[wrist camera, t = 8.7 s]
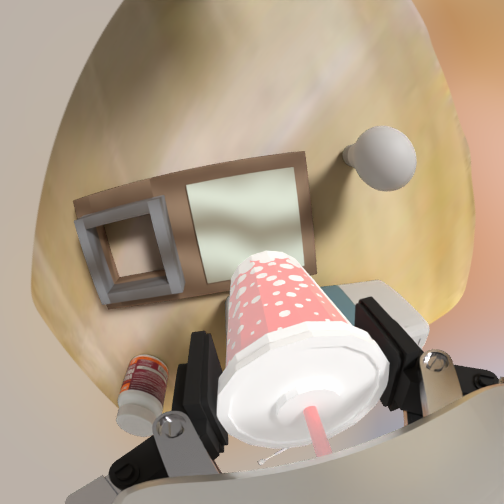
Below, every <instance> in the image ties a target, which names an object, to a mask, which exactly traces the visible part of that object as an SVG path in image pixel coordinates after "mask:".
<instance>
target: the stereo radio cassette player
mask: <svg viewBox="0 0 504 504" xmlns="http://www.w3.org/2000/svg"><path fill="white" fill-rule="evenodd" d="M320 288H321V289H322V290H323V291H324V293H325V294H326V295H327V296H328V297H329V298H330V300H331V301H332V302H333V303H334V304H335V305H336V307H337V308H338V309H339V310H340V311H341V313H342V314H343V315H344V316H345V317H346V319H347V320H348V321H349V322H350V323H351V324H352V326H354V323H355V305H356V303H358V302H359V300H360V299H362V298H366V297H370V296H372V297H373V298H374V299H375V300H376V301H377V302H378V303H379V304H380V306H381V307H382V308H383V309H384V310H385V311H386V312H387V313H388V314H389V315H390V316H391V317H392V319H394V320H395V321H397V322H398V323H399V325H400V326H401V327H402V328H403V329H404V330H405V331H406V332H407V333H408V335H409V336H410V337H411V338H412V339H413V340H414V341H415V343H416V344H417V345H418V346H419V347H420V348H421V349H422V347H423V346H424V344H425V342H426V339H427V336H428V333H429V325H428V323H427V322H426V321H425V319H424V318H423V317H422V316H421V315H420V314H419V313H418V312H417V311H416V310H415V309H414V308H413V307H412V306H411V305H410V304H409V303H408V302H407V301H406V300H405V299H404V298H403V297H402V296H401V295H400V294H399V293H397V292H396V291H395V290H394V289H392V288H391V287H390V286H388V285H387V284H385V283H384V282H383V281H381V280H373V281H366V282H358V283H350V284H342V285H333V286H324V287H320ZM229 300H230V296H228V297H227V300H226V302H225V319H226V348H227V333H228V316H229ZM286 449H289V448H283V449H281V450H279V451H278V452H276V453H274V454H273V455H272V456H270V457H268V458H266V459H264V460H263V459H261V460H259V461H257V462H258V464H259V465H262V464H264V463H265V462H264V461H266V460H268V459H270V458H271V457H273V456H275V455H277V454H279V453H281V452H282V451H284V450H286Z"/></svg>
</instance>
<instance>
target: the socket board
mask: <svg viewBox="0 0 504 504" xmlns="http://www.w3.org/2000/svg"><path fill="white" fill-rule="evenodd" d="M73 203H74V207H75V211H76V215H77V220H75V221H74V223H75V227H76V231H77V234H78V237H79V241H80V244H81V247H82V250H83V254H84V257H85V260H86V263H87V266H88V268H89V271H90V274H91V277H92V280H93V282H94V285H95V288H96V290H97V293H98V295H99V298H100V300H101V303H102V305H104V304H106V305H107V307H108V309H115V308H122V307H129V306H136V305H143V304H150V303H157V302H163V301H170V300H176V299H183V298H189V297H195V296H201V295H207V294H213V293H219V292H225V291H230V287H231V278H232V276H233V274H234V272H235V271H236V269H237V267H238V265H239V264H241V263H242V262H243V261H244V260H246V259H247V258H248V257H250V256H251V255H254V254H257V253H260V252H264V251H278V252H283V253H285V254H287V255H289V256H291V257H293V258H295V259H296V260H297V261H298V263H299V264H300V265H301V266H302V267H303V268H304V269H305V271H306V272H307V273H308V274H309V275H314V274H317V267H316V253H315V240H314V228H313V218H312V208H311V198H310V189H309V180H308V172H307V164H306V157H305V151H300V152H291V153H283V154H275V155H267V156H260V157H254V158H247V159H241V160H235V161H229V162H223V163H218V164H213V165H207V166H202V167H197V168H192V169H188V170H183V171H178V172H174V173H169V174H165V175H161V176H157V177H153V178H149V179H145V180H141V181H137V182H133V183H129V184H126V185H122V186H118V187H115V188H111V189H108V190H105V191H101V192H98V193H95V194H91V195H88V196H85V197H82V198H79V199H77V200H74V201H73ZM145 214H150V216H151V220H152V224H153V228H154V232H155V236H156V240H157V243H158V247H159V251H160V255H161V258H162V262H163V265H164V269H163V270H158V271H152V272H147V273H141V274H135V275H130V276H124V277H119V275H118V272H117V269H116V266H115V262H114V259H113V256H112V253H111V250H110V246H109V243H108V240H107V236H106V233H105V229H104V224H108V223H112V222H116V221H120V220H124V219H128V218H133V217H137V216H141V215H145Z"/></svg>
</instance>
